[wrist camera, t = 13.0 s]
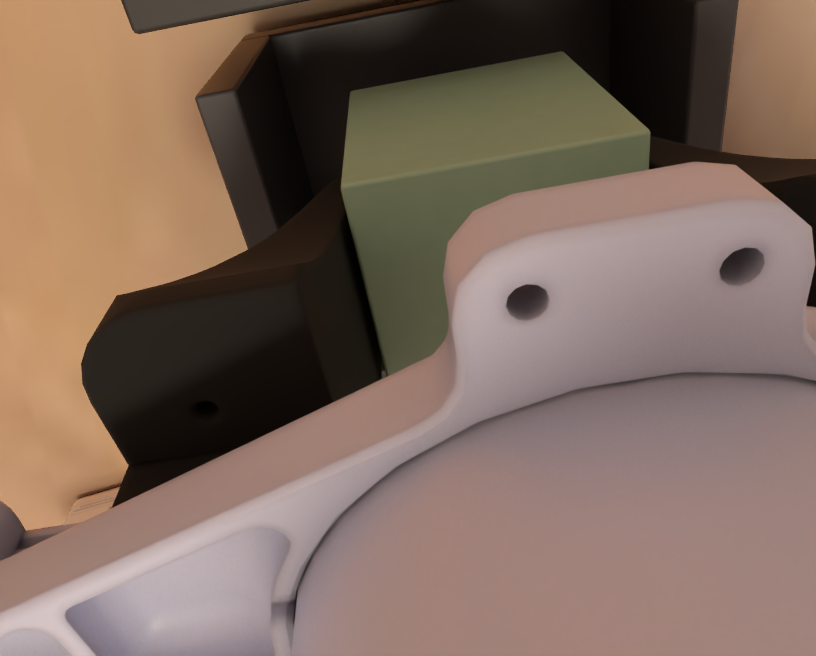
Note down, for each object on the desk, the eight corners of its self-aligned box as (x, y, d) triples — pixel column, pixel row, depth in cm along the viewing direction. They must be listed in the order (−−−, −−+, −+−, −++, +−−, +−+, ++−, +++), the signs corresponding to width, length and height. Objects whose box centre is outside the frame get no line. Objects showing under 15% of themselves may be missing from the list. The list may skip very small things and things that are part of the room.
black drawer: (101, -355, 13) (-78, -509, 8) (672, -489, 12) (889, -754, 7) (317, 339, 23) (301, 473, 18) (638, 286, 22) (719, 408, 17)
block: (563, 49, 13) (652, 129, 9) (568, 242, 15) (640, 373, 11) (348, 90, 13) (339, 185, 9) (388, 273, 16) (394, 412, 12)
